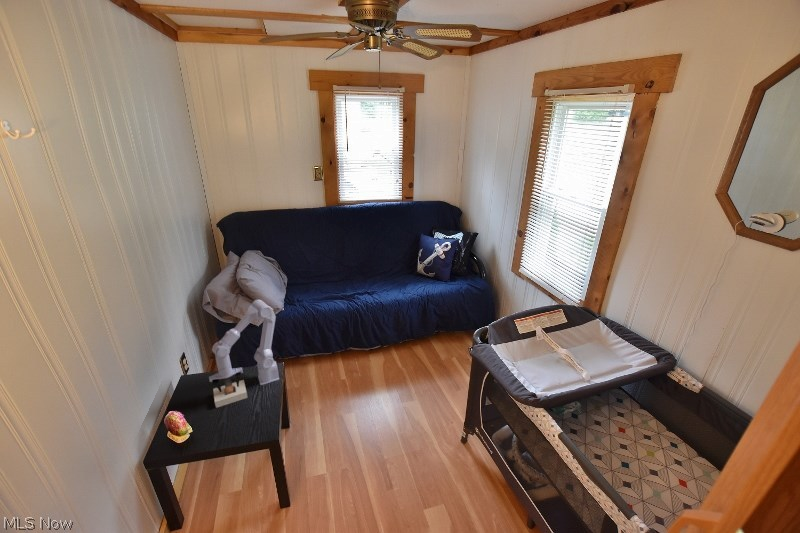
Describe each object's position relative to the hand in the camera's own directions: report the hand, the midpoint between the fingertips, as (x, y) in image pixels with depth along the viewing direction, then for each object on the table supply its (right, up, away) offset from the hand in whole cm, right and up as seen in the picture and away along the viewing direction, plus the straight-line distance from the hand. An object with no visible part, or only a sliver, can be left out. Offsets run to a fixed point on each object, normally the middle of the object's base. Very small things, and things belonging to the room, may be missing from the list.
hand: (229, 388), depth 177 cm
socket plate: (0, -5, +2) cm, 5 cm away
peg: (0, -5, +2) cm, 5 cm away
